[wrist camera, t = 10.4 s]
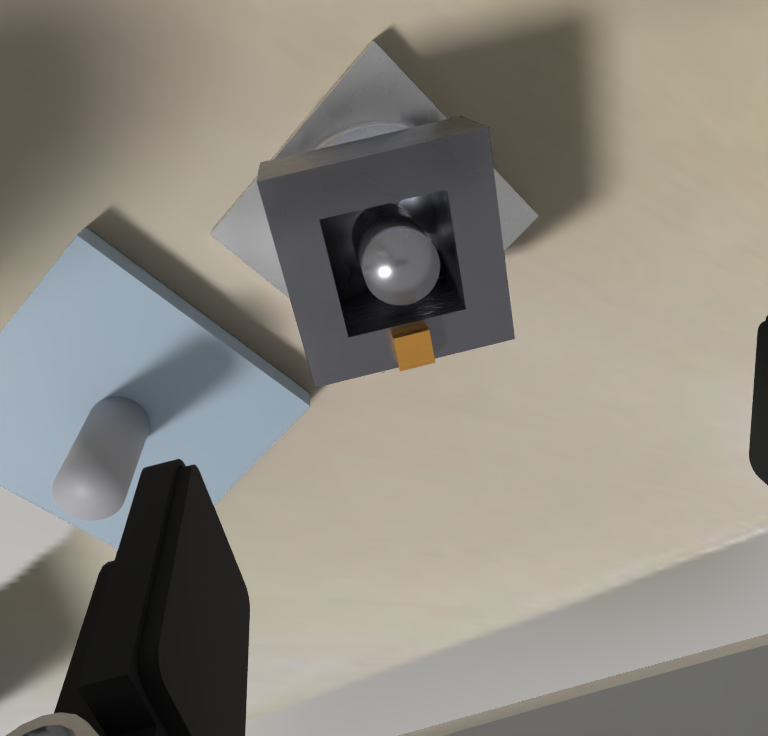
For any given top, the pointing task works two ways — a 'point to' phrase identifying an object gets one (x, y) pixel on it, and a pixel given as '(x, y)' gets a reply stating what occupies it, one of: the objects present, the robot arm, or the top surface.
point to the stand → (126, 391)
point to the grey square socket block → (378, 187)
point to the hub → (372, 225)
